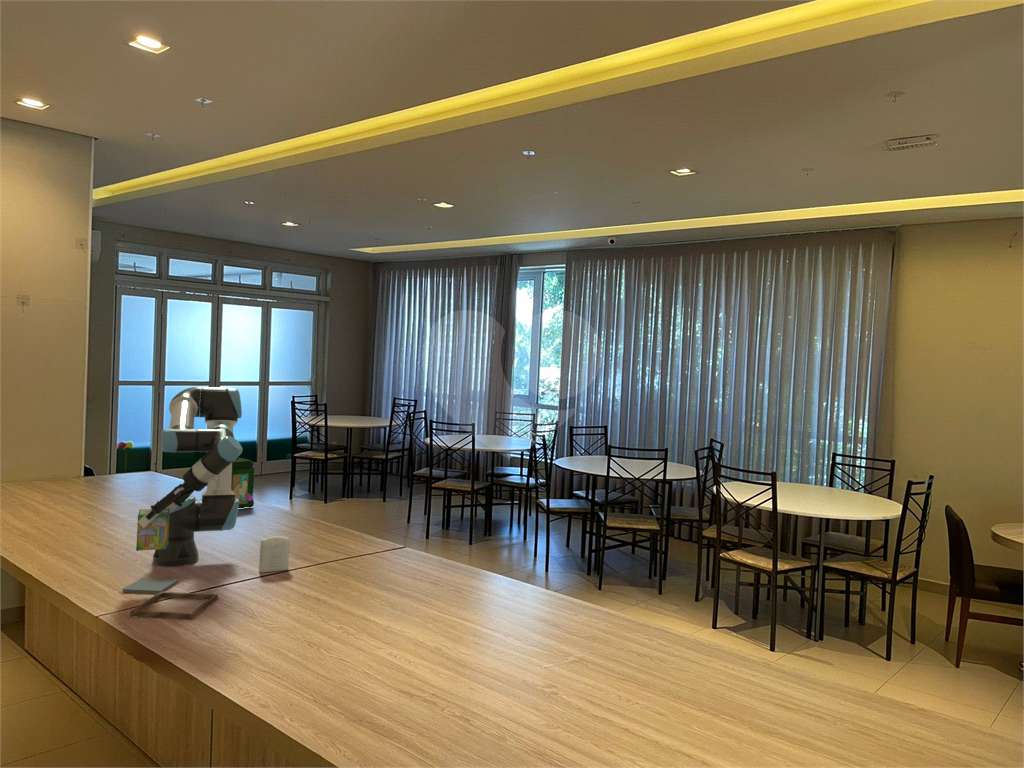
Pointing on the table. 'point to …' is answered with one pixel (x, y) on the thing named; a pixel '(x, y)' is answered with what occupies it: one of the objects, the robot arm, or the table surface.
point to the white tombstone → (274, 554)
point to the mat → (150, 585)
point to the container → (243, 481)
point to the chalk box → (153, 531)
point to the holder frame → (174, 615)
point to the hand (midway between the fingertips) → (150, 520)
